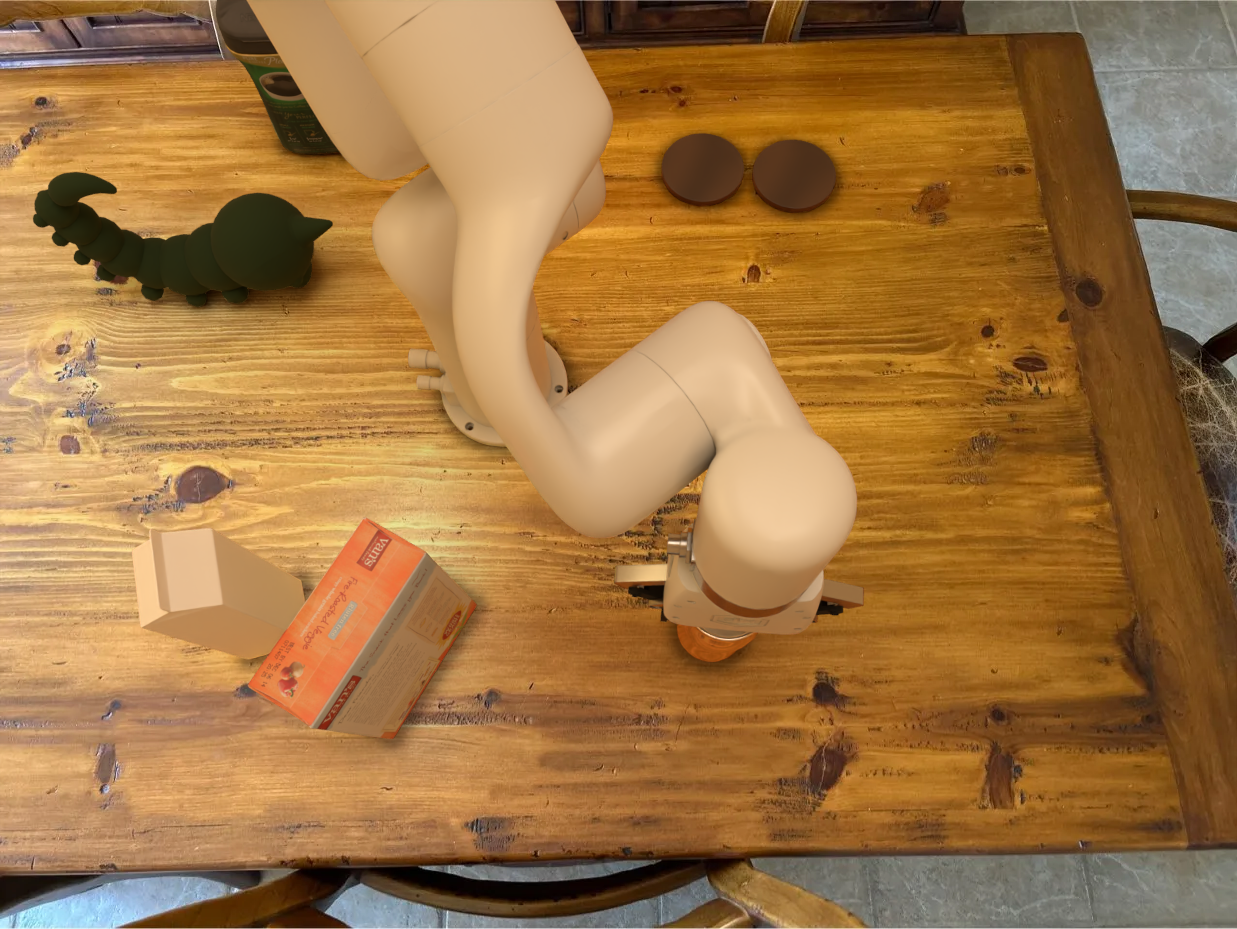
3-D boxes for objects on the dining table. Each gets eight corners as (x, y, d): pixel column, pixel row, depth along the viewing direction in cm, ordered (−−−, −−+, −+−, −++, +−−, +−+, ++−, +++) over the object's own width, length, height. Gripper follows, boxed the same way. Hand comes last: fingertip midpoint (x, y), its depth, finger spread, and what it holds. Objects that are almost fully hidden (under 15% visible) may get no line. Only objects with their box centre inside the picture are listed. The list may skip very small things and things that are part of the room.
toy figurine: (134, 333, 94) (363, 308, 92) (-3, 231, 76) (278, 196, 74) (144, 256, 97) (366, 230, 95) (15, 141, 79) (285, 105, 77)
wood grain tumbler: (741, 674, 80) (766, 652, 65) (665, 658, 80) (673, 633, 66) (753, 598, 82) (779, 561, 68) (679, 584, 82) (689, 544, 68)
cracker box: (426, 573, 83) (363, 510, 63) (480, 605, 82) (432, 552, 62) (337, 706, 79) (240, 684, 59) (393, 742, 78) (312, 731, 58)
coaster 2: (750, 209, 96) (751, 205, 95) (754, 141, 99) (755, 136, 98) (833, 215, 95) (835, 211, 95) (835, 147, 98) (836, 142, 98)
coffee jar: (368, 99, 101) (313, -42, 84) (364, 156, 99) (306, 23, 81) (284, 102, 101) (211, -38, 84) (277, 159, 99) (201, 27, 81)
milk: (248, 660, 81) (112, 623, 60) (238, 597, 82) (103, 539, 62) (314, 641, 81) (202, 597, 60) (303, 578, 83) (190, 515, 62)
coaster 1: (658, 202, 96) (658, 198, 95) (664, 135, 99) (665, 130, 98) (741, 208, 96) (741, 204, 95) (745, 140, 99) (745, 135, 98)
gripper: (603, 601, 52) (612, 645, 68) (900, 629, 51) (838, 667, 67) (615, 482, 55) (621, 551, 71) (899, 505, 54) (840, 571, 70)
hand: (727, 608), depth 69 cm, fingers open, 9 cm apart
